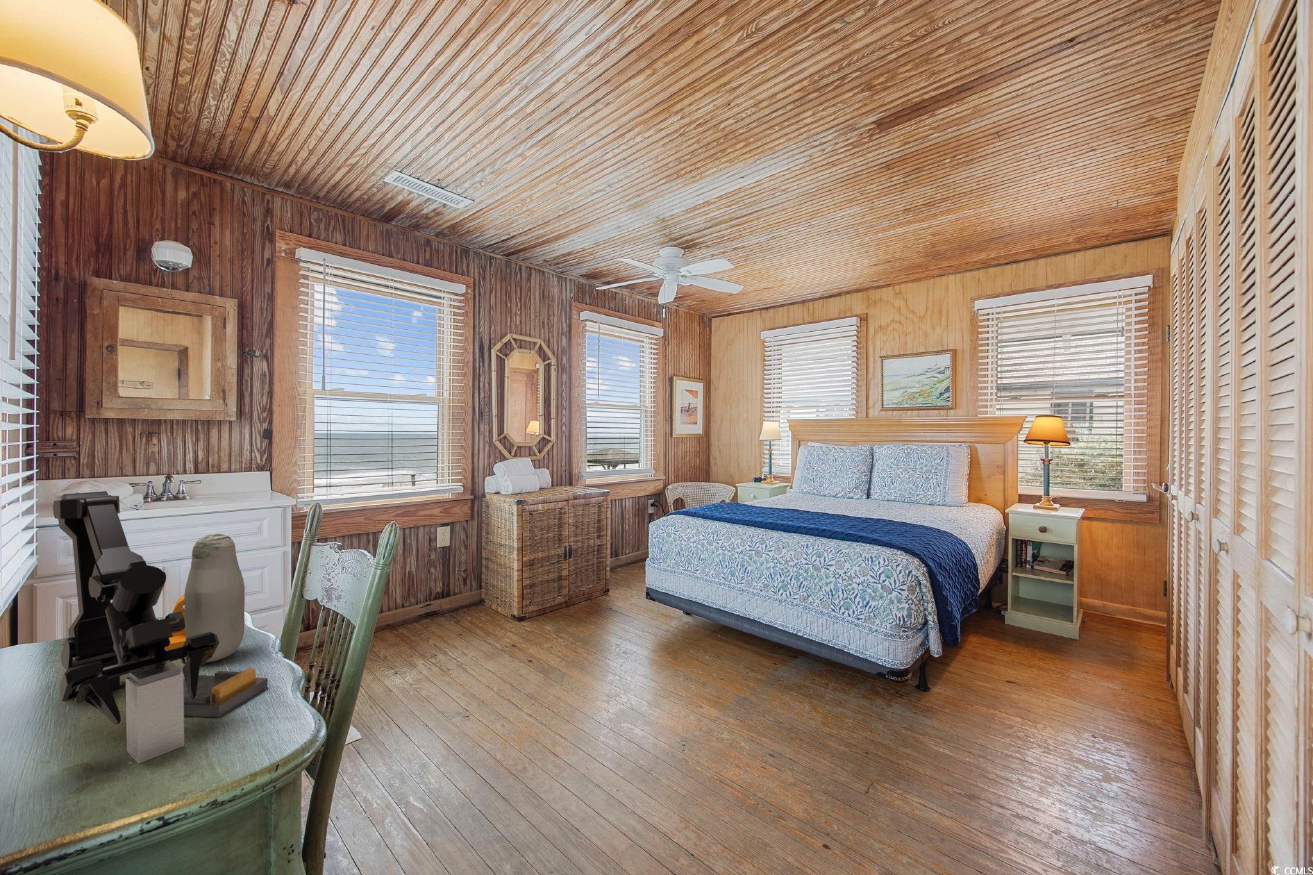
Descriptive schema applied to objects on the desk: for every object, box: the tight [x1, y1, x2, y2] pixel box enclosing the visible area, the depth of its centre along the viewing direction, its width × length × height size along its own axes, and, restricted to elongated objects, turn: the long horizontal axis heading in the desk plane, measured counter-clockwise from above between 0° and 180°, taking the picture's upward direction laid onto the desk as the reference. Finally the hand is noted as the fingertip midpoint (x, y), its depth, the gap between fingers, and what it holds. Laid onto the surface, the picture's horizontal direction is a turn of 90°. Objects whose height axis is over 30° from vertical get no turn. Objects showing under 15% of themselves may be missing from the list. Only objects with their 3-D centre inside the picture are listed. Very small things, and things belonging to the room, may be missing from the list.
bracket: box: [165, 594, 186, 651], centre depth 128 cm, size 11×7×12 cm, turn 130°
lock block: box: [125, 660, 185, 764], centre depth 88 cm, size 6×6×13 cm
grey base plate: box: [183, 668, 268, 718], centre depth 104 cm, size 16×11×4 cm
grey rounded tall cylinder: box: [183, 533, 246, 663], centre depth 121 cm, size 10×10×28 cm
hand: (158, 709), depth 87 cm, fingers open, 9 cm apart
